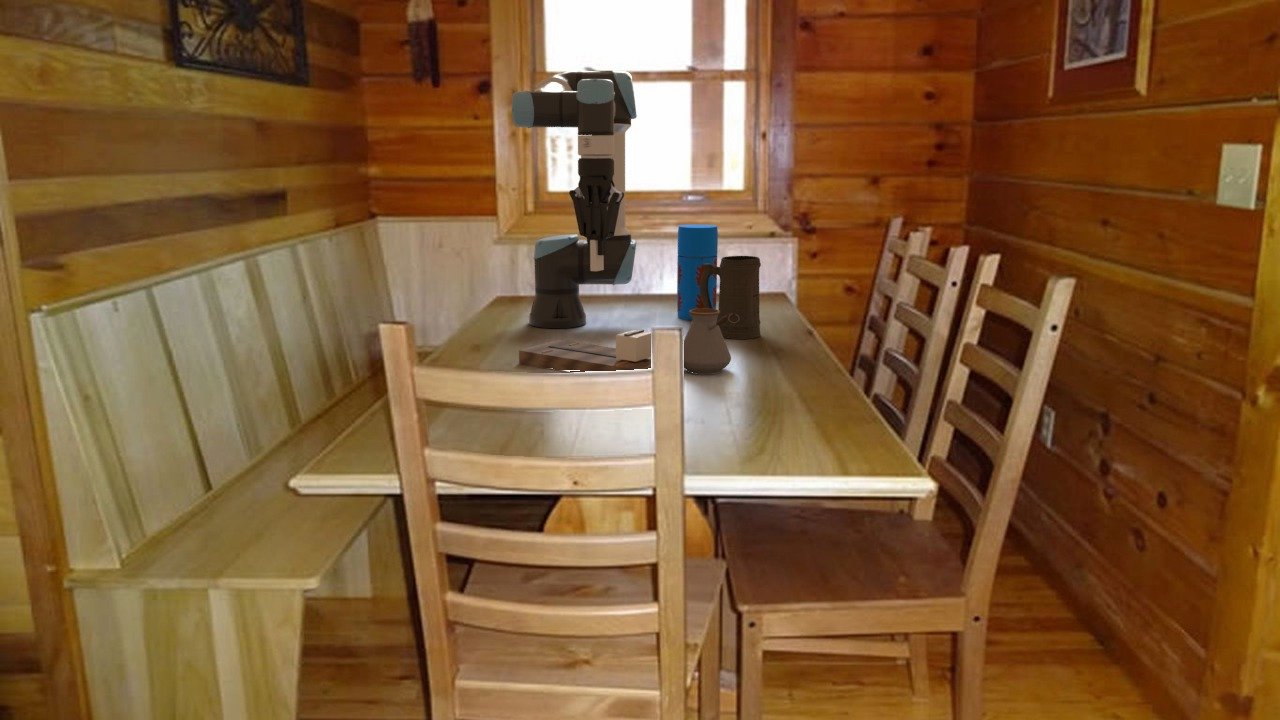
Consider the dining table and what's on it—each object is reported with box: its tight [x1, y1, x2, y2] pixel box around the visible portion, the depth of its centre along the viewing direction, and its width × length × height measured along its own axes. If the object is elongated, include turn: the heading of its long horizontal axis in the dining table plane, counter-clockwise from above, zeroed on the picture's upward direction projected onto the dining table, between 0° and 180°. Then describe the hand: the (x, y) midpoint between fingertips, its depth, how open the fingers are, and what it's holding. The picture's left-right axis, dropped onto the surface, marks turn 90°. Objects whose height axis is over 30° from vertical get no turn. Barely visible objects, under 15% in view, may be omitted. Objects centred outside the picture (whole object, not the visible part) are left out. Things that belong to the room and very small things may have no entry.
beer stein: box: [700, 255, 762, 340], centre depth 234 cm, size 15×11×20 cm
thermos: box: [676, 224, 719, 321], centre depth 258 cm, size 11×11×25 cm
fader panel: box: [518, 339, 651, 372], centre depth 201 cm, size 32×14×3 cm, turn 55°
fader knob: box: [615, 329, 652, 362], centre depth 195 cm, size 5×6×5 cm
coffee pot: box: [683, 308, 739, 376], centre depth 193 cm, size 21×12×15 cm, turn 18°
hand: (597, 270), depth 200 cm, fingers closed
